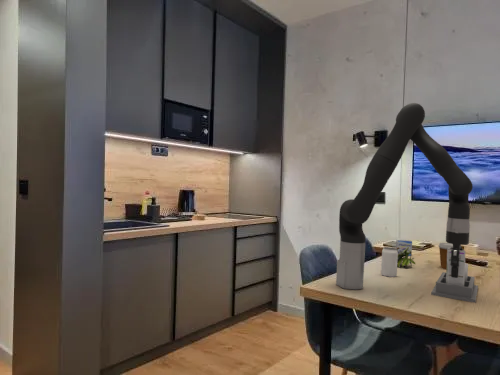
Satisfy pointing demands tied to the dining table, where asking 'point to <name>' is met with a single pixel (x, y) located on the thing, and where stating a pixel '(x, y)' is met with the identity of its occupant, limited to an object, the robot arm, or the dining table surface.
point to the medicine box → (404, 245)
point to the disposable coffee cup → (444, 253)
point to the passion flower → (405, 258)
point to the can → (389, 262)
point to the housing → (456, 288)
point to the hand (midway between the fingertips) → (455, 275)
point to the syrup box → (461, 269)
